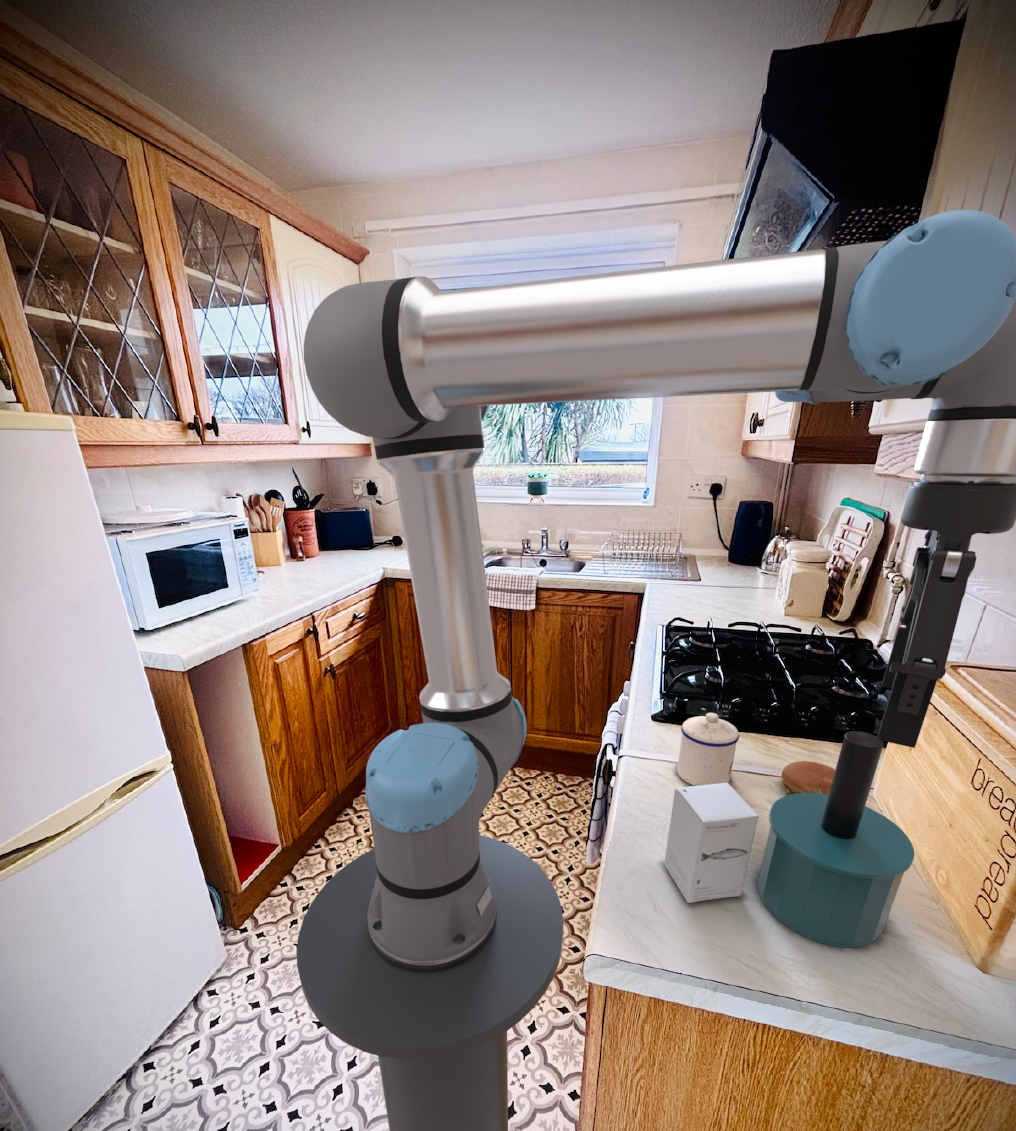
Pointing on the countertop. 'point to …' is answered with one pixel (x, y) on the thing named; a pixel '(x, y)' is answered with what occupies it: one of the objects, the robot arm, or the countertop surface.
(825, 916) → the tin
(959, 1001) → the countertop surface
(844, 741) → the tin lid
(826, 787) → the burger
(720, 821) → the white packaging box
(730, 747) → the teacup with lid
